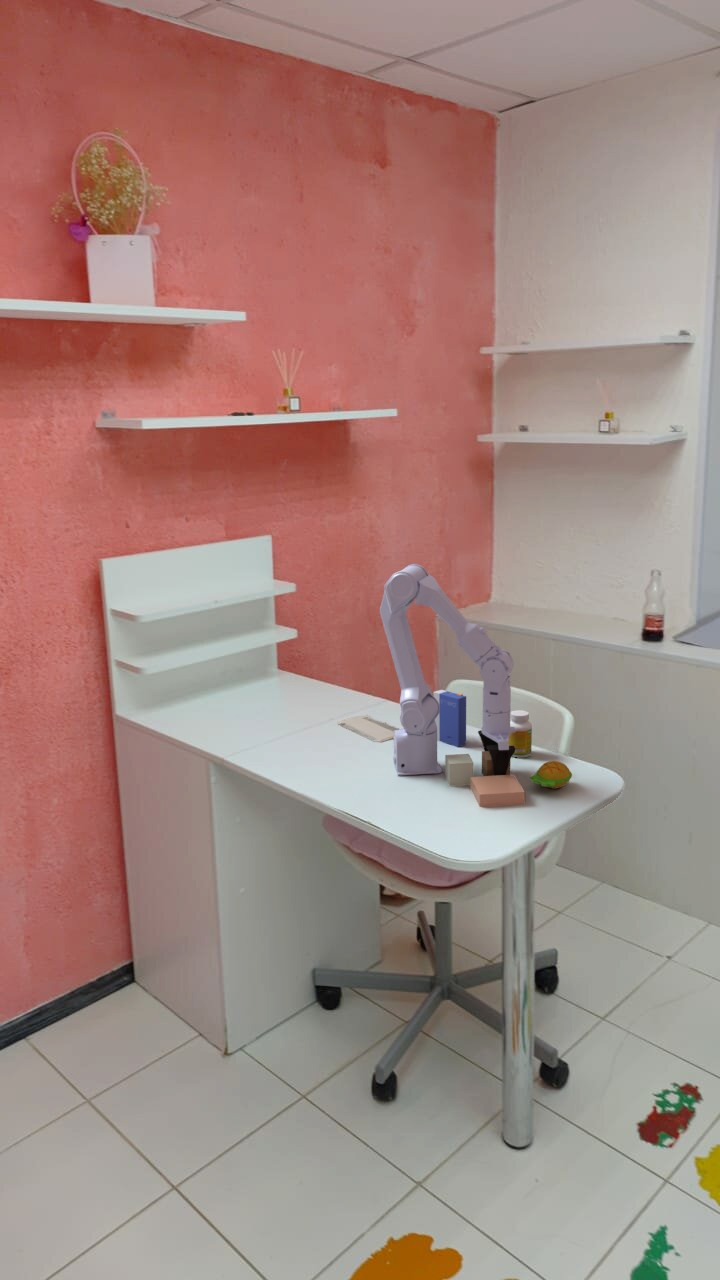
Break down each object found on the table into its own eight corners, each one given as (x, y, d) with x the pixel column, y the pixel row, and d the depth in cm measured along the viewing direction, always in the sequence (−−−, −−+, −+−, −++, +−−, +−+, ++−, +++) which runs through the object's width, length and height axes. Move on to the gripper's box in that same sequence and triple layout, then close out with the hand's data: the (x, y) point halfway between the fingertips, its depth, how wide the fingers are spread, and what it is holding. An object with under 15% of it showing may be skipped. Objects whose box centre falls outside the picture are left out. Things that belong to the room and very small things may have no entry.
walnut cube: (486, 782, 201) (486, 759, 200) (481, 773, 206) (481, 751, 205) (510, 780, 202) (510, 758, 200) (504, 771, 206) (504, 750, 205)
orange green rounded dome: (578, 785, 198) (579, 760, 197) (552, 800, 191) (553, 775, 190) (549, 776, 203) (550, 753, 202) (522, 791, 196) (523, 767, 194)
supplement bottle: (530, 759, 213) (531, 717, 210) (506, 757, 214) (506, 716, 211) (531, 750, 218) (532, 709, 216) (507, 749, 219) (508, 708, 217)
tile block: (479, 808, 189) (479, 794, 189) (470, 790, 198) (470, 777, 197) (524, 806, 190) (524, 791, 189) (513, 788, 199) (513, 774, 198)
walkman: (466, 744, 223) (466, 694, 220) (458, 747, 221) (458, 697, 218) (440, 736, 228) (440, 687, 225) (433, 739, 226) (432, 690, 224)
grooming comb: (411, 735, 230) (411, 732, 230) (377, 745, 225) (377, 742, 225) (366, 716, 245) (366, 713, 245) (333, 724, 239) (333, 721, 239)
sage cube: (449, 786, 200) (449, 763, 198) (445, 777, 204) (445, 755, 203) (473, 784, 200) (473, 762, 199) (468, 775, 205) (468, 753, 204)
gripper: (524, 719, 193) (522, 782, 197) (507, 697, 207) (506, 756, 211) (489, 721, 193) (488, 784, 196) (475, 699, 207) (474, 758, 210)
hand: (495, 770), depth 203 cm, fingers open, 7 cm apart
